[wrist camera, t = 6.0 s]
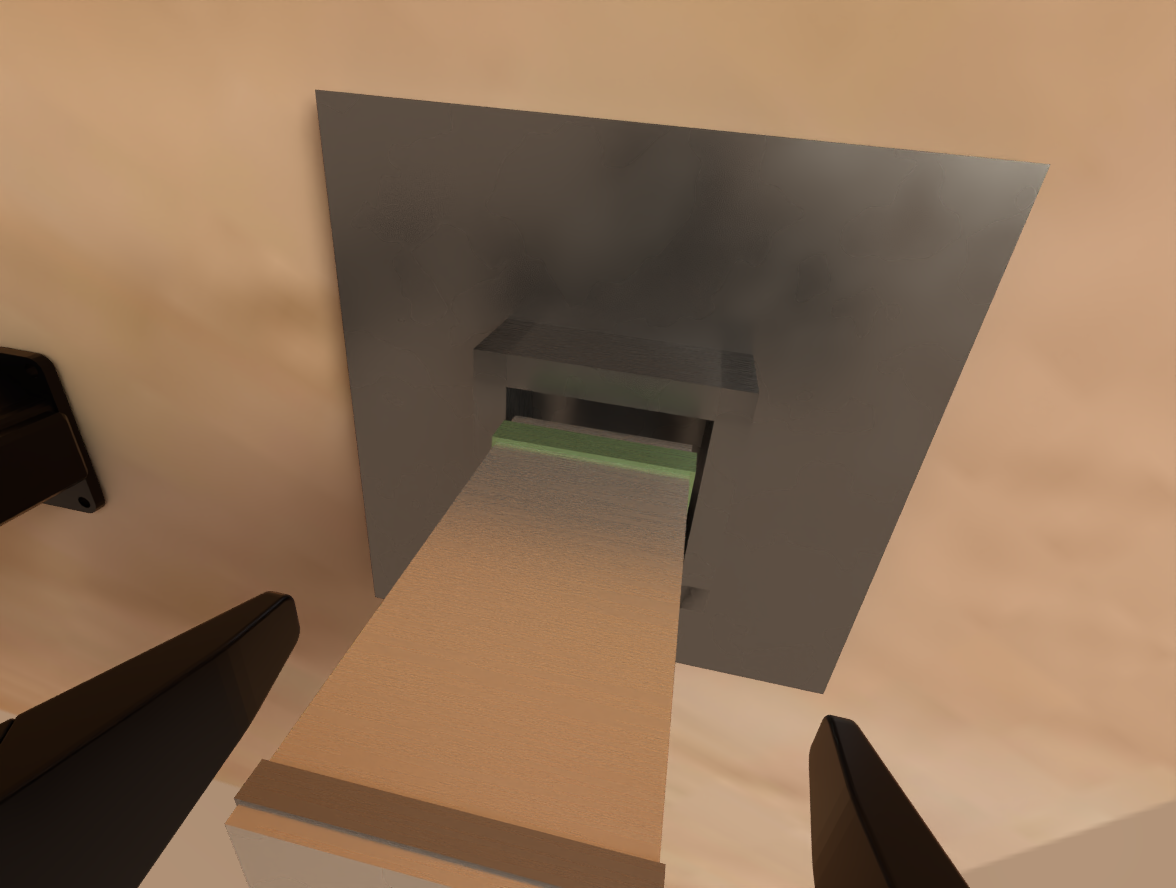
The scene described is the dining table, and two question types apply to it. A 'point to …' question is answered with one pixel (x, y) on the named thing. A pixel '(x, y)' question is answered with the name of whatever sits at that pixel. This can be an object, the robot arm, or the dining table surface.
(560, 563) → the post
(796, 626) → the stand base
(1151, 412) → the dining table surface
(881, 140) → the dining table surface
